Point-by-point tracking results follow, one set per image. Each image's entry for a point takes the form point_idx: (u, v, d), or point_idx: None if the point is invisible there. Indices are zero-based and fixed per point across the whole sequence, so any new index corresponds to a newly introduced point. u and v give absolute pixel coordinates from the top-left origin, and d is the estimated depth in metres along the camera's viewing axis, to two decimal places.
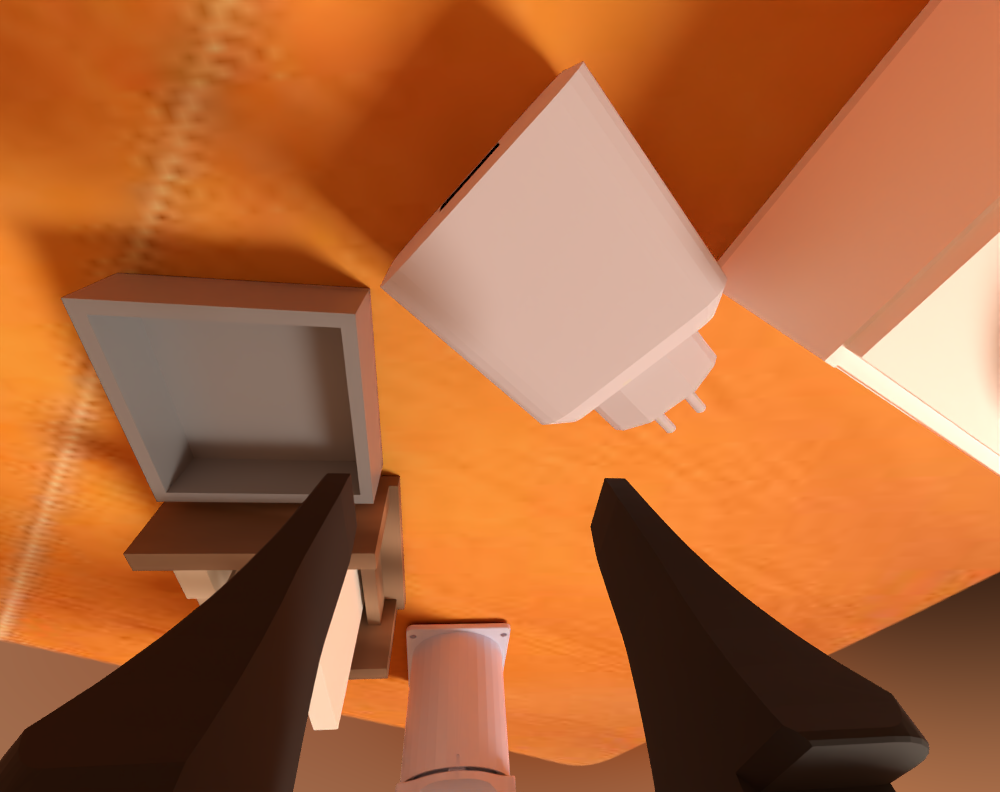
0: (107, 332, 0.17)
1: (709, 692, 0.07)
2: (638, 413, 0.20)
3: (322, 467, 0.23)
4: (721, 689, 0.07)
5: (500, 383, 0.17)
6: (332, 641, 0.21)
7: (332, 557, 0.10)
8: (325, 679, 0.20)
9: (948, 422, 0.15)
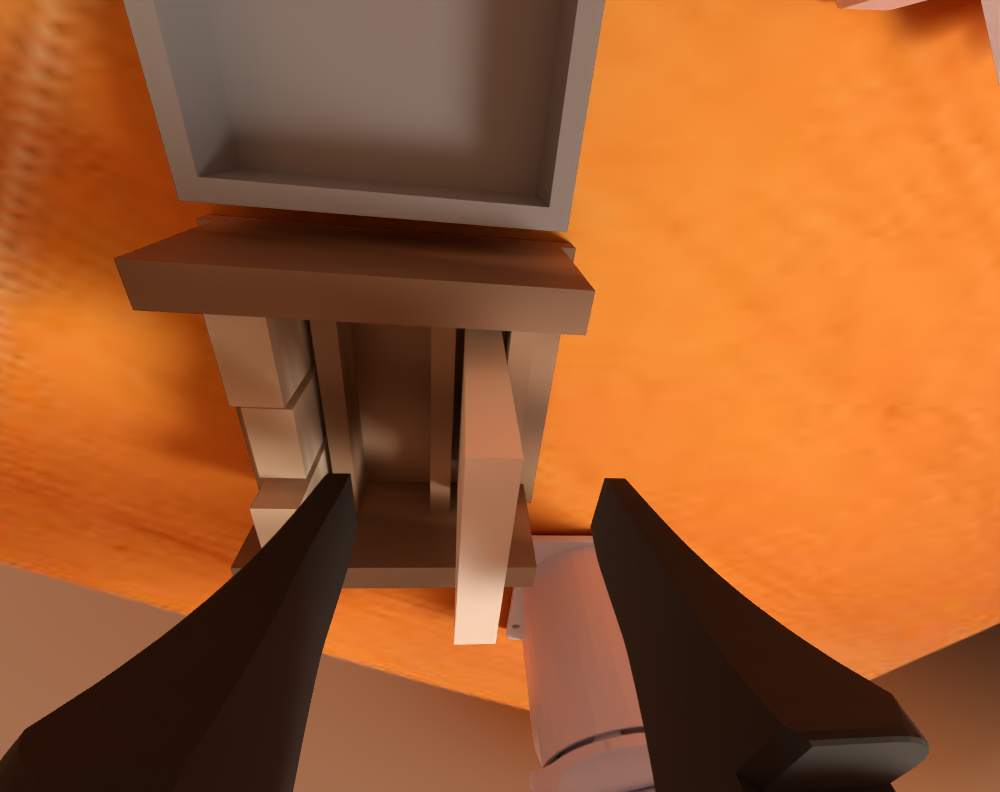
0: None
1: (709, 692, 0.07)
2: None
3: (463, 190, 0.13)
4: (721, 689, 0.07)
5: None
6: None
7: (332, 557, 0.10)
8: (513, 520, 0.10)
9: None
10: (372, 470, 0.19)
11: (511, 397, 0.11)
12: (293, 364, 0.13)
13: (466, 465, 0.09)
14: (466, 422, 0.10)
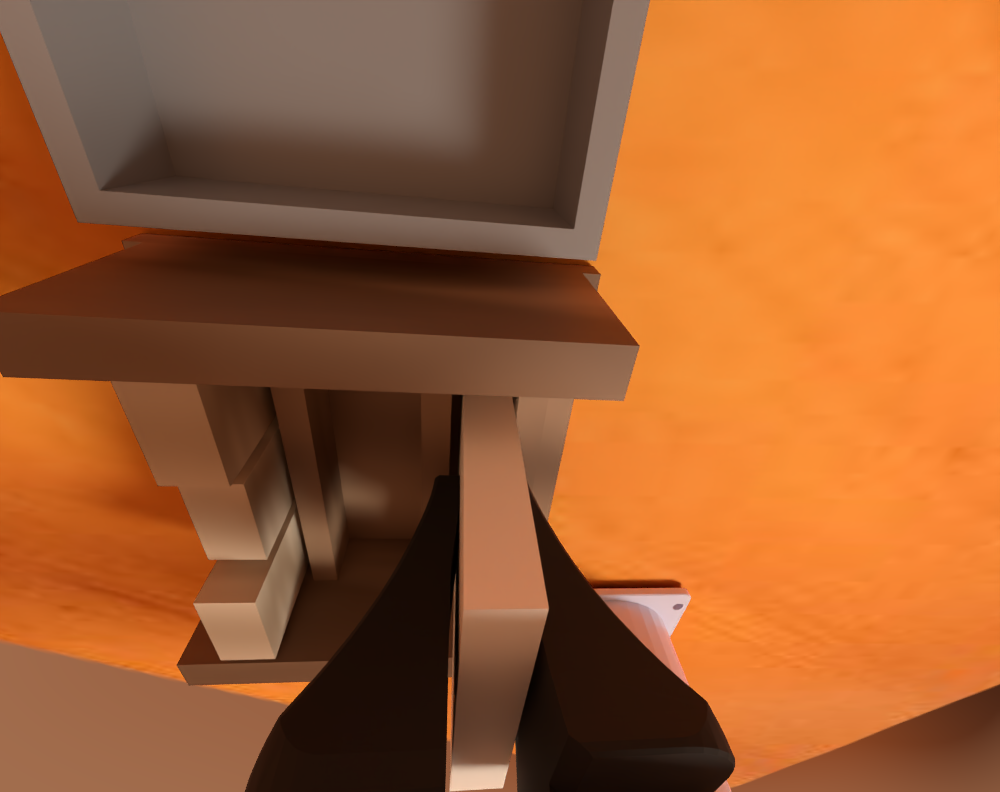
0: None
1: (541, 698, 0.07)
2: None
3: (461, 204, 0.10)
4: (546, 695, 0.07)
5: None
6: None
7: (455, 557, 0.11)
8: (531, 672, 0.07)
9: None
10: (355, 527, 0.16)
11: (525, 488, 0.08)
12: (244, 427, 0.10)
13: (465, 618, 0.06)
14: (465, 538, 0.07)
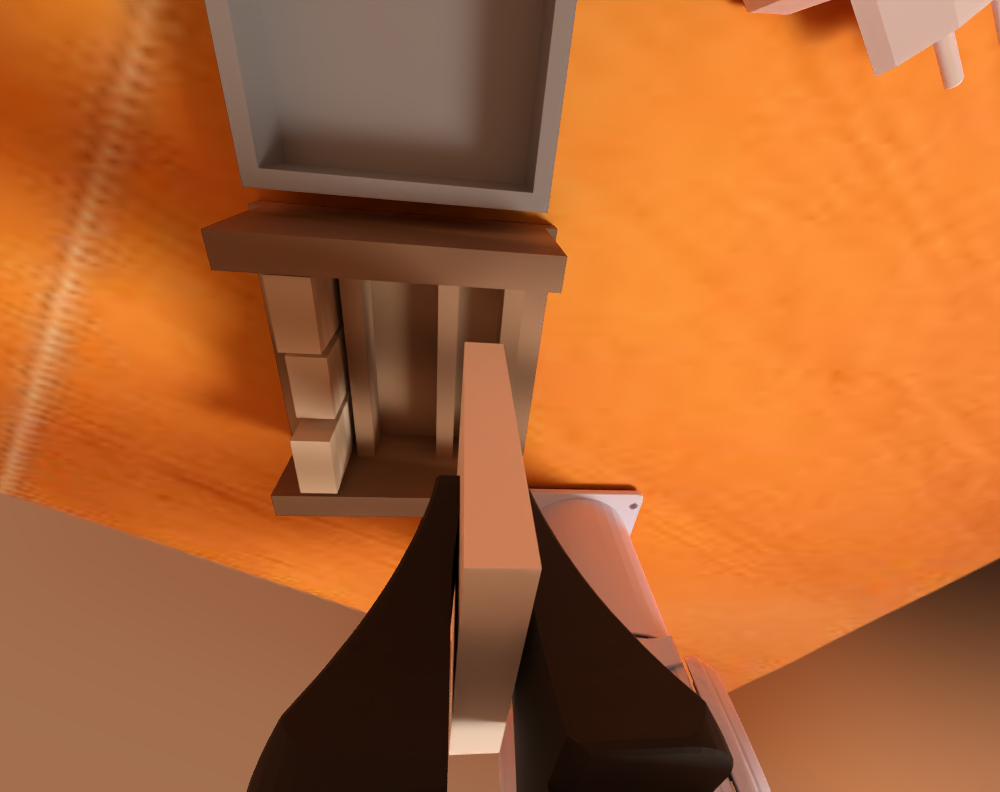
0: None
1: (540, 698, 0.07)
2: (946, 5, 0.13)
3: (464, 180, 0.16)
4: (544, 696, 0.07)
5: None
6: None
7: (456, 557, 0.11)
8: (525, 632, 0.08)
9: None
10: (386, 424, 0.22)
11: (522, 466, 0.09)
12: (327, 321, 0.16)
13: (465, 577, 0.07)
14: (465, 508, 0.08)
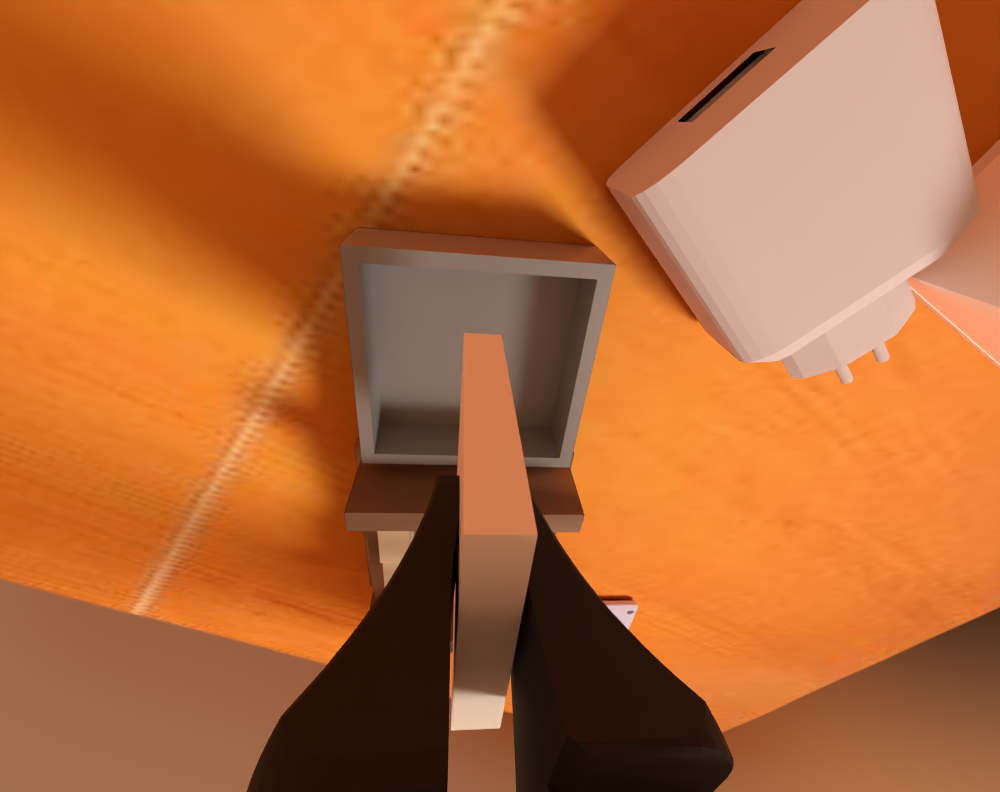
0: (363, 283, 0.17)
1: (540, 698, 0.07)
2: (832, 357, 0.19)
3: None
4: (544, 695, 0.07)
5: (723, 312, 0.17)
6: None
7: (456, 557, 0.11)
8: (523, 601, 0.08)
9: None
10: None
11: (519, 444, 0.09)
12: (412, 534, 0.23)
13: (465, 543, 0.07)
14: (464, 481, 0.08)
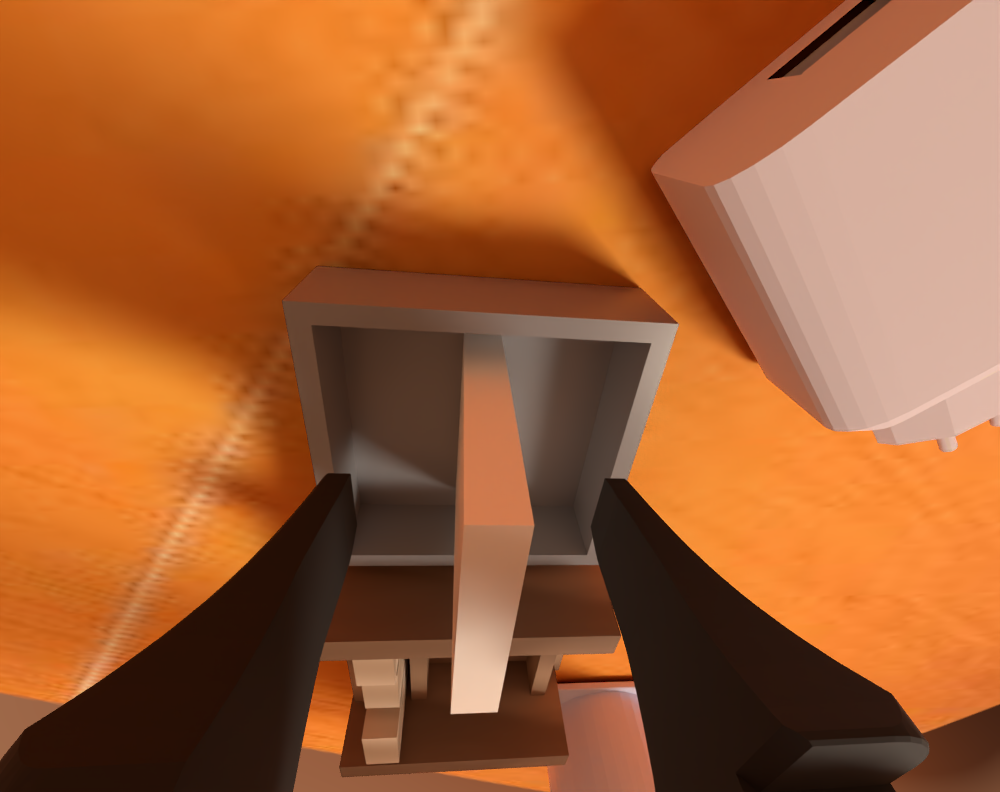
0: (322, 349, 0.12)
1: (709, 692, 0.07)
2: (945, 423, 0.14)
3: None
4: (721, 689, 0.07)
5: (820, 364, 0.11)
6: None
7: (332, 557, 0.10)
8: (520, 589, 0.08)
9: None
10: None
11: (517, 439, 0.09)
12: None
13: (465, 533, 0.07)
14: (465, 475, 0.08)
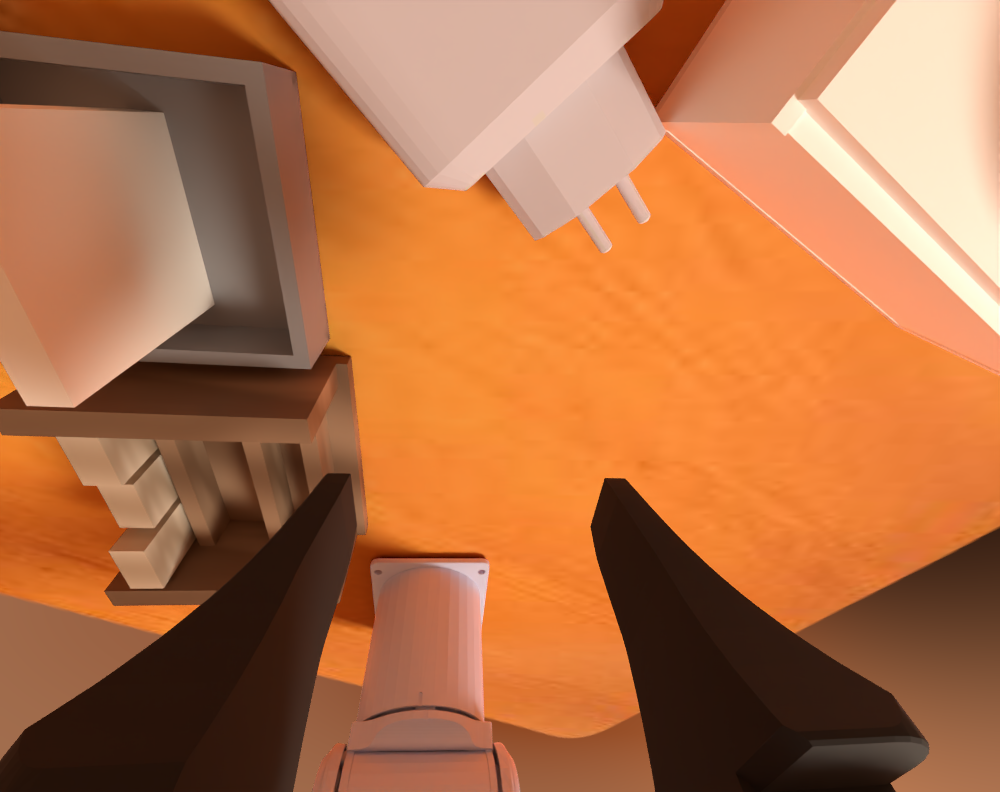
0: None
1: (709, 692, 0.07)
2: (560, 199, 0.15)
3: (252, 332, 0.19)
4: (721, 689, 0.07)
5: (357, 91, 0.12)
6: (22, 178, 0.10)
7: (332, 557, 0.10)
8: None
9: (933, 243, 0.12)
10: (232, 512, 0.25)
11: (22, 108, 0.10)
12: (133, 453, 0.19)
13: None
14: None
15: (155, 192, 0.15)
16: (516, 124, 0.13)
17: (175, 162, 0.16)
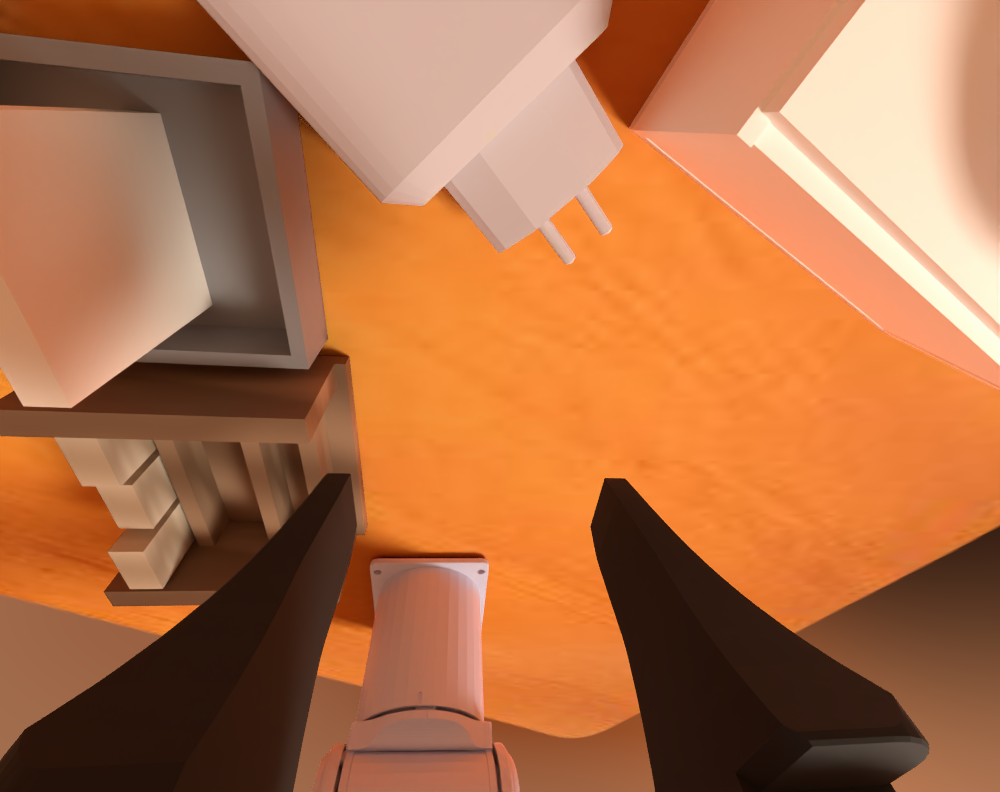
0: None
1: (709, 692, 0.07)
2: (519, 213, 0.15)
3: (250, 332, 0.19)
4: (721, 689, 0.07)
5: (309, 111, 0.12)
6: (18, 179, 0.10)
7: (332, 557, 0.10)
8: None
9: (903, 251, 0.12)
10: (231, 512, 0.25)
11: (17, 109, 0.10)
12: (131, 454, 0.19)
13: None
14: None
15: (152, 193, 0.15)
16: (468, 141, 0.13)
17: (172, 163, 0.16)
